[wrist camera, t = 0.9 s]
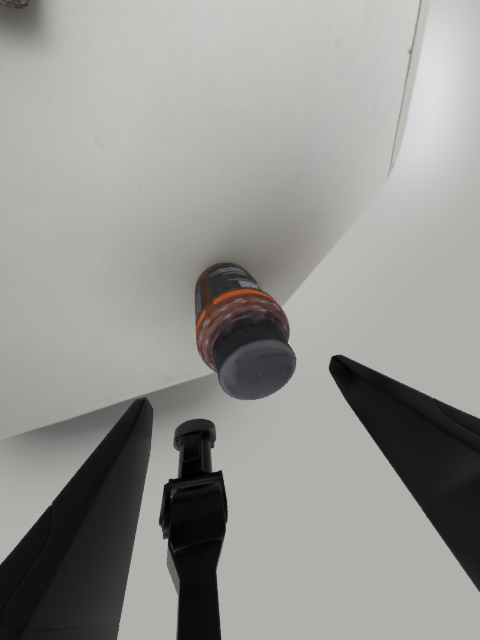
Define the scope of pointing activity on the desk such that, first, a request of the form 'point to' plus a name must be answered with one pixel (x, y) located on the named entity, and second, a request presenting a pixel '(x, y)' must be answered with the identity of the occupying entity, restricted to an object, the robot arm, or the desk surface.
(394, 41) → the desk surface
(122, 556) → the robot arm
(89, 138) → the desk surface
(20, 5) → the rock
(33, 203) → the desk surface
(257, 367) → the supplement bottle
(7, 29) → the desk surface
